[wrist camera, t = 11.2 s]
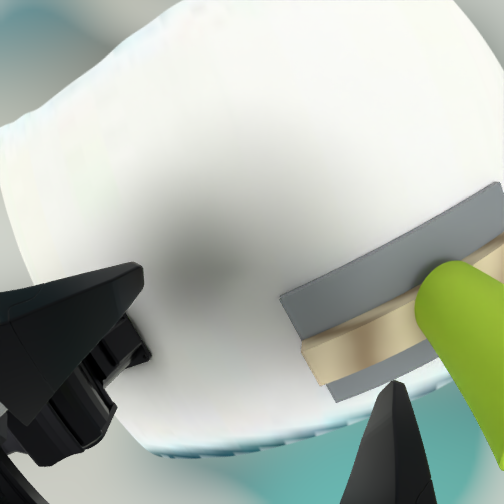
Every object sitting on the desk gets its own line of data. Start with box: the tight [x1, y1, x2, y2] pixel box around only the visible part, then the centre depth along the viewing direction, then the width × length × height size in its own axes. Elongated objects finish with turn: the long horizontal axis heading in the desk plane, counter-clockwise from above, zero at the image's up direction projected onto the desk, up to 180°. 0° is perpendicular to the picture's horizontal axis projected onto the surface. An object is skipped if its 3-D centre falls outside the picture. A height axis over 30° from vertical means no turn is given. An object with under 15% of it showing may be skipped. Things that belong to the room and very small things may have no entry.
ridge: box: [301, 232, 504, 386], centre depth 18 cm, size 20×4×2 cm, turn 119°
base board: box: [280, 182, 504, 403], centre depth 19 cm, size 20×11×1 cm, turn 119°
